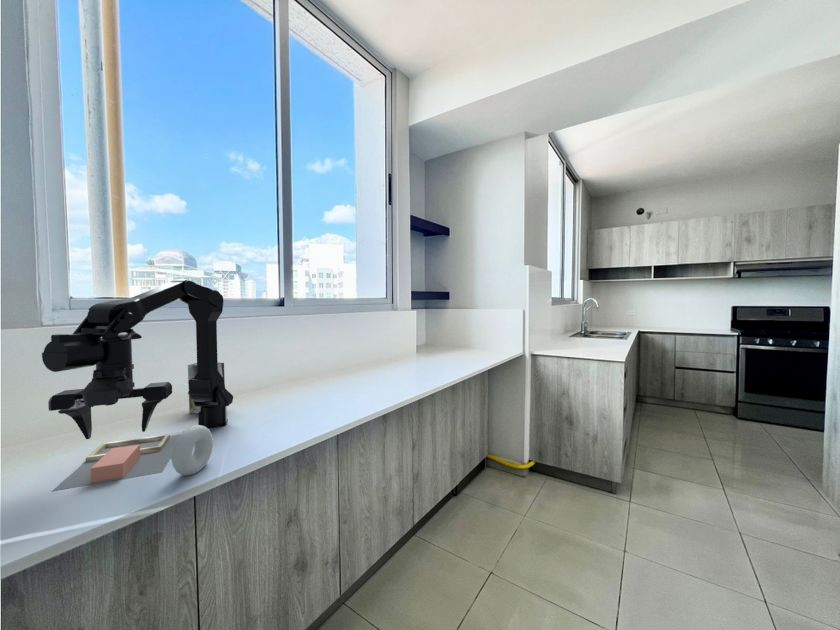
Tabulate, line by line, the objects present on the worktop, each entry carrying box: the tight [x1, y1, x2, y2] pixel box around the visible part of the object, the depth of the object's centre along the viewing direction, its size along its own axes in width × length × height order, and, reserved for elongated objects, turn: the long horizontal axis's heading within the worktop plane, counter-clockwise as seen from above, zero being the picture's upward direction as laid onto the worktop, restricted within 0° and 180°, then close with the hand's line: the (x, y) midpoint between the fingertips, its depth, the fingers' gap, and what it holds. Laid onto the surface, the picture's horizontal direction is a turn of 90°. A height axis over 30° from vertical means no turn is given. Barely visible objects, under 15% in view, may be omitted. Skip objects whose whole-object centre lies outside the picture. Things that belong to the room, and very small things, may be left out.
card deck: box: [91, 445, 140, 483], centre depth 71 cm, size 5×10×3 cm, turn 25°
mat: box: [51, 433, 182, 492], centre depth 77 cm, size 17×23×1 cm
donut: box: [171, 424, 214, 476], centre depth 71 cm, size 10×4×10 cm, turn 178°
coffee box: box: [187, 362, 226, 414], centre depth 112 cm, size 9×6×16 cm
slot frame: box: [85, 433, 171, 462], centre depth 81 cm, size 14×9×1 cm, turn 115°
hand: (117, 434), depth 71 cm, fingers open, 9 cm apart
